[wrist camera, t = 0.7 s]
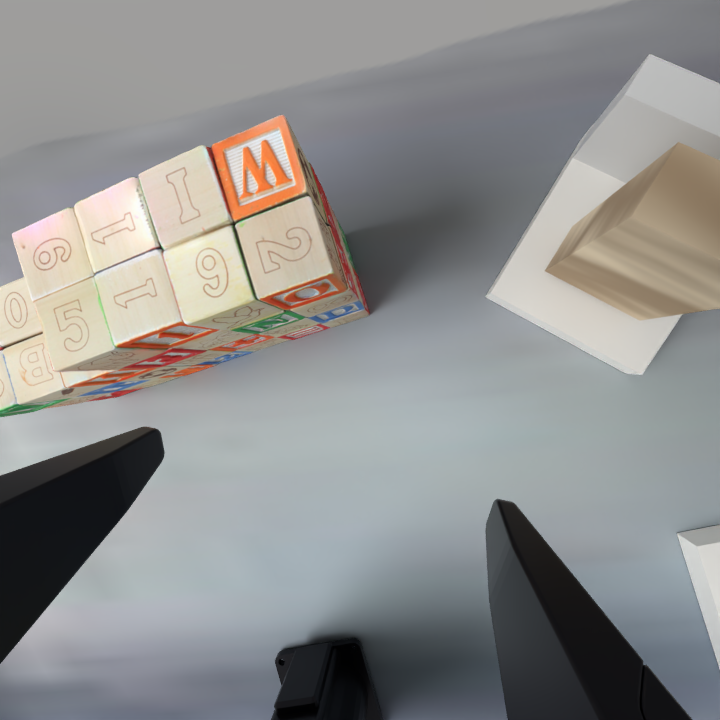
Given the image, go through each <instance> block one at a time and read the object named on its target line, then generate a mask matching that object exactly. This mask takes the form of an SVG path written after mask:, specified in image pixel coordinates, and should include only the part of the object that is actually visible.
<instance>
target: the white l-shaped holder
mask: <svg viewBox="0 0 720 720" xmlns="http://www.w3.org/2000/svg"><path fill="white" fill-rule="evenodd" d="M678 142H680V143H682V144H684V145H687V146H689V147H691V148H693V149H695V150H698V151H700V152H702V153H704V154H707V155H709V156H711V157H713V158H715V159H718V160H720V83H717V82H715V81H713V80H710V79H708V78H705V77H703V76H701V75H698V74H696V73H694V72H691V71H689V70H687V69H684V68H682V67H679V66H677V65H675V64H672V63H670V62H668V61H665V60H663V59H661V58H658V57H656V56H653V55H651V54H649V55H648V57H647V58H646V59H645V60H644V62H643V63H642V64H641V65H640V67H639V68H638V69H637V70H636V72H635V73H634V74H633V75H632V77H631V78H630V79H629V80H628V82H627V83H626V84H625V85H624V87H623V88H622V89H621V91H620V92H619V93H618V94H617V96H616V97H615V98H614V99H613V101H612V102H611V103H610V104H609V106H608V107H607V108H606V109H605V111H604V112H603V113H602V114H601V116H600V117H599V118H598V119H597V121H596V122H595V123H594V124H593V125H592V126H591V127H590V129H589V130H588V131H587V132H586V134H585V135H584V136H583V138H582V139H581V140H580V142H579V143H578V145H577V147H576V148H575V150H574V152H573V153H572V155H571V156H570V158H569V160H568V161H567V163H566V165H565V166H564V168H563V170H562V171H561V173H560V175H559V176H558V178H557V179H556V181H555V183H554V184H553V186H552V188H551V189H550V191H549V193H548V194H547V196H546V198H545V199H544V201H543V203H542V204H541V206H540V207H539V209H538V211H537V212H536V214H535V216H534V217H533V219H532V221H531V222H530V224H529V226H528V227H527V229H526V230H525V232H524V234H523V235H522V237H521V239H520V240H519V242H518V244H517V245H516V247H515V249H514V250H513V252H512V254H511V255H510V257H509V258H508V260H507V262H506V263H505V265H504V267H503V268H502V270H501V272H500V273H499V275H498V277H497V278H496V280H495V281H494V283H493V285H492V286H491V288H490V290H489V291H488V293H487V295H486V296H485V297H486V298H488V299H490V300H491V301H493V302H495V303H497V304H499V305H501V306H502V307H504V308H506V309H508V310H510V311H512V312H513V313H515V314H517V315H519V316H521V317H523V318H524V319H526V320H528V321H530V322H532V323H534V324H536V325H537V326H539V327H541V328H543V329H545V330H547V331H548V332H550V333H552V334H554V335H556V336H558V337H559V338H561V339H563V340H565V341H567V342H569V343H570V344H572V345H574V346H576V347H578V348H580V349H581V350H583V351H585V352H587V353H589V354H591V355H593V356H594V357H596V358H598V359H600V360H602V361H604V362H605V363H607V364H609V365H611V366H613V367H615V368H616V369H618V370H620V371H622V372H624V373H626V374H636V375H642V374H643V373H644V371H645V370H646V368H647V367H648V365H649V364H650V362H651V361H652V359H653V358H654V356H655V355H656V353H657V352H658V350H659V349H660V347H661V346H662V344H663V343H664V341H665V340H666V338H667V337H668V335H669V334H670V332H671V331H672V329H673V328H674V326H675V325H676V323H677V322H678V320H679V319H680V317H681V316H682V314H680V315H673V316H667V317H660V318H654V319H647V320H641V321H639V320H638V319H636V318H634V317H632V316H630V315H628V314H626V313H624V312H622V311H620V310H618V309H616V308H614V307H613V306H611V305H609V304H607V303H605V302H603V301H601V300H599V299H597V298H595V297H593V296H591V295H590V294H588V293H586V292H584V291H582V290H580V289H578V288H576V287H574V286H572V285H570V284H568V283H567V282H565V281H563V280H561V279H559V278H557V277H555V276H553V275H551V274H549V273H547V272H545V270H546V268H547V266H548V265H549V263H550V261H551V260H552V258H553V257H554V255H555V253H556V252H557V250H558V249H559V247H560V245H561V244H562V242H563V241H564V239H565V237H566V236H567V234H568V232H569V231H570V229H571V228H572V226H573V225H575V224H576V223H577V222H578V221H580V220H581V219H582V218H583V217H585V216H586V215H587V214H588V213H590V212H591V211H592V210H593V209H595V208H596V207H597V206H598V205H600V204H601V203H602V202H604V201H605V200H606V199H607V198H609V197H610V196H611V195H612V194H614V193H615V192H616V191H617V190H619V189H620V188H621V187H622V186H624V185H625V184H626V183H627V182H629V181H630V180H631V179H633V178H634V177H635V176H636V175H638V174H639V173H640V172H641V171H643V170H644V169H645V168H646V167H648V166H649V165H650V164H651V163H653V162H654V161H655V160H656V159H658V158H659V157H660V156H662V155H663V154H664V153H665V152H667V151H668V150H669V149H670V148H672V147H673V146H674V145H675V144H677V143H678Z"/></svg>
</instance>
